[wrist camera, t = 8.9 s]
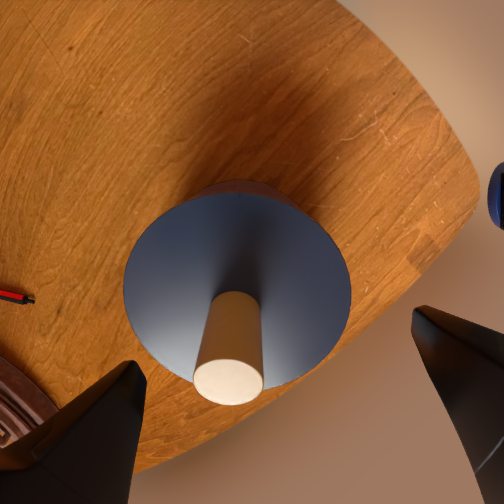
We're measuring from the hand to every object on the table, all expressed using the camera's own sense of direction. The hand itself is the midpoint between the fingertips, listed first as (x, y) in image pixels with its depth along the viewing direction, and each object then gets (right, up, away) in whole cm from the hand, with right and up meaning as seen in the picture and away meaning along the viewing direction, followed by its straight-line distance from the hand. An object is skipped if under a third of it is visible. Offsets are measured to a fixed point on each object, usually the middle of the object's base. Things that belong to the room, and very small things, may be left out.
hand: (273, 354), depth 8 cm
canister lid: (-1, 0, +5) cm, 6 cm away
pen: (-32, -1, +14) cm, 35 cm away
